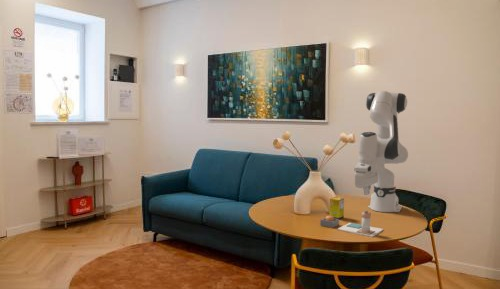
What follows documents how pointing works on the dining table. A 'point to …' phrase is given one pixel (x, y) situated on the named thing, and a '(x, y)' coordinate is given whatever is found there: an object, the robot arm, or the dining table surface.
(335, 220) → the button housing
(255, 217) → the dining table surface
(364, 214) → the cylinder
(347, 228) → the picture sheet
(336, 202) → the supplement box
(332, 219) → the button
